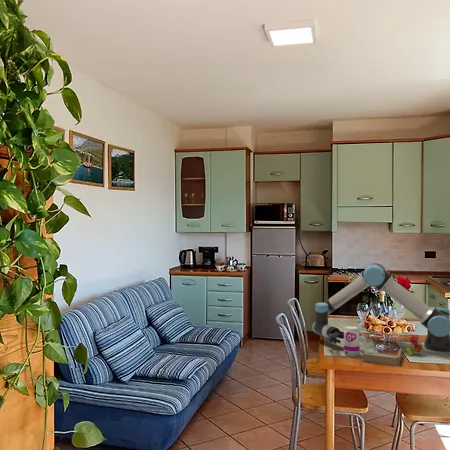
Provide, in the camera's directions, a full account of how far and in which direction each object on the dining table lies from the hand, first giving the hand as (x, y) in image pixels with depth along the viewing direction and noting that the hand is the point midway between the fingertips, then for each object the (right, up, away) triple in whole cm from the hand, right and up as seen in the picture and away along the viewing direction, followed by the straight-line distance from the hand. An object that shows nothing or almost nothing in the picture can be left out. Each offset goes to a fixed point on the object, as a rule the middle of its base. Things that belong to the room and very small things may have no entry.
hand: (354, 341), depth 243 cm
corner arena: (+13, -8, -5) cm, 16 cm away
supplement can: (-1, -8, +3) cm, 9 cm away
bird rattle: (+33, -8, +2) cm, 34 cm away
